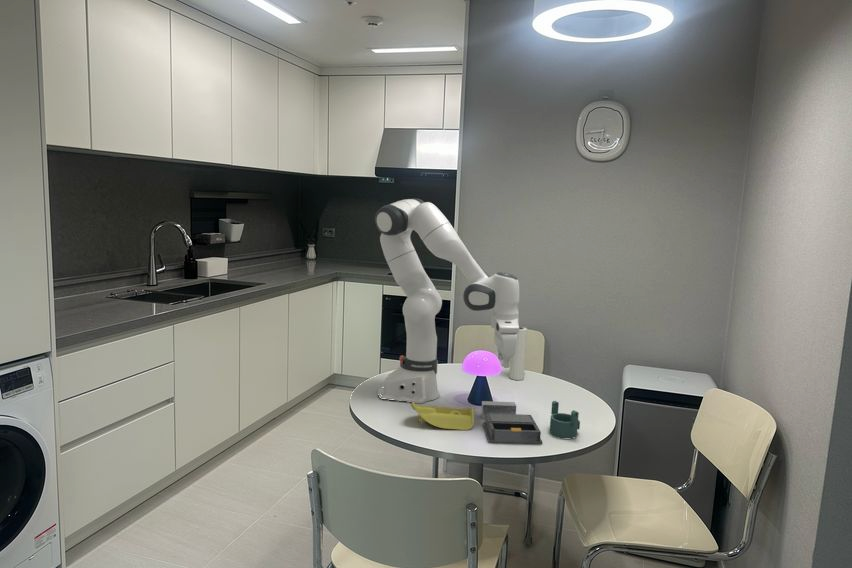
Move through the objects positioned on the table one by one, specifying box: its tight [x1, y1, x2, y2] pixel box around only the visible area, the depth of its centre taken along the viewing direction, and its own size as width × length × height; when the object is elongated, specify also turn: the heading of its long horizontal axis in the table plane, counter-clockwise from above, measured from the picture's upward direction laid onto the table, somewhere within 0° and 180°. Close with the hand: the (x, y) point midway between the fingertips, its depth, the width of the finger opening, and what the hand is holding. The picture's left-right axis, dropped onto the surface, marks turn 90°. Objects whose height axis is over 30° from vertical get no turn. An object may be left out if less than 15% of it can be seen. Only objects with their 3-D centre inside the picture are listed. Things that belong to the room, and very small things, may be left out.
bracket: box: [549, 400, 581, 439], centre depth 173 cm, size 9×9×9 cm
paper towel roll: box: [508, 326, 528, 381], centre depth 229 cm, size 7×6×21 cm
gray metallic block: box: [480, 400, 517, 420], centre depth 185 cm, size 11×4×5 cm, turn 91°
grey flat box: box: [482, 413, 543, 445], centre depth 171 cm, size 16×14×4 cm
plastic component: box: [410, 402, 475, 431], centre depth 178 cm, size 20×7×10 cm
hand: (503, 363), depth 183 cm, fingers open, 8 cm apart
